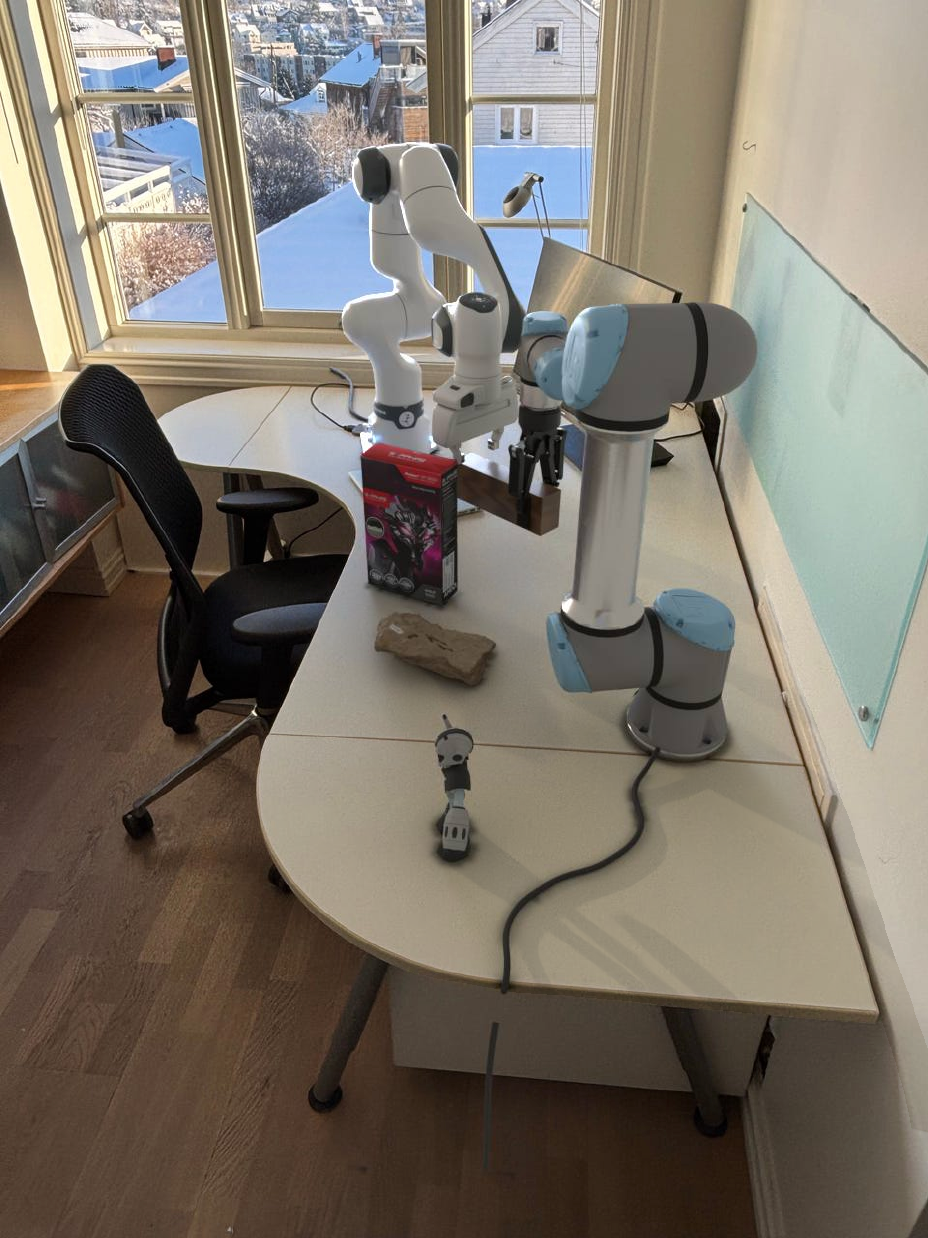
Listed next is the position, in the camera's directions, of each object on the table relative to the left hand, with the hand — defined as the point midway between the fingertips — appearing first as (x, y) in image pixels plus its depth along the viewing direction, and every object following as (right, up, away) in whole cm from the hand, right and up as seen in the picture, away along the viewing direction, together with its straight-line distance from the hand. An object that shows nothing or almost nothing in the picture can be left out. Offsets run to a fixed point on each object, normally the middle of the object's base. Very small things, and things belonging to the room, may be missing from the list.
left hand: (476, 455), depth 179 cm
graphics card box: (-12, -26, -2) cm, 29 cm away
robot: (-4, -61, -54) cm, 82 cm away
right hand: (+11, -13, -4) cm, 18 cm away
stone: (-8, -39, -21) cm, 45 cm away
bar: (+5, -11, +1) cm, 12 cm away
